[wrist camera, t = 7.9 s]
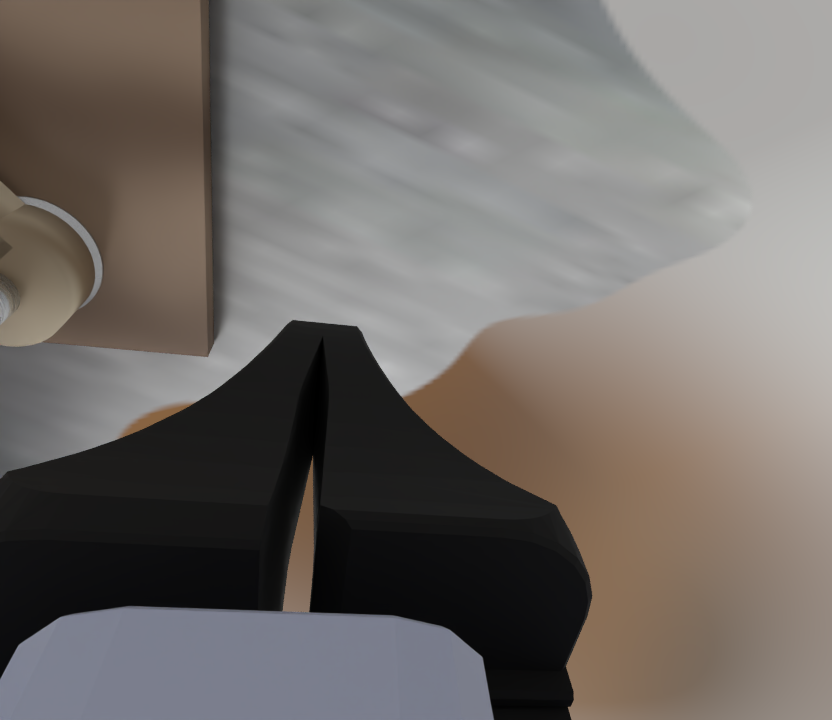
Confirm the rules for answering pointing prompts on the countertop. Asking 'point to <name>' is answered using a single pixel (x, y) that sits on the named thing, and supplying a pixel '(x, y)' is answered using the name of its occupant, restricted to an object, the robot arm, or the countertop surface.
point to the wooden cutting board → (119, 156)
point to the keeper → (3, 294)
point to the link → (41, 270)
